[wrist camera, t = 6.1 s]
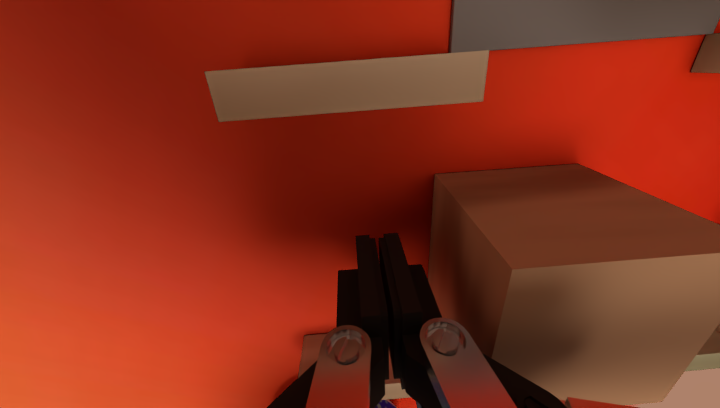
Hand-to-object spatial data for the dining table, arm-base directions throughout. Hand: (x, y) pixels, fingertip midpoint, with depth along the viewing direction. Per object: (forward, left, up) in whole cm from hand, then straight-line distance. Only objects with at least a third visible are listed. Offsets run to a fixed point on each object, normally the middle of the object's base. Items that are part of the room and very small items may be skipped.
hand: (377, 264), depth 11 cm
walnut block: (0, +6, -2) cm, 6 cm away
